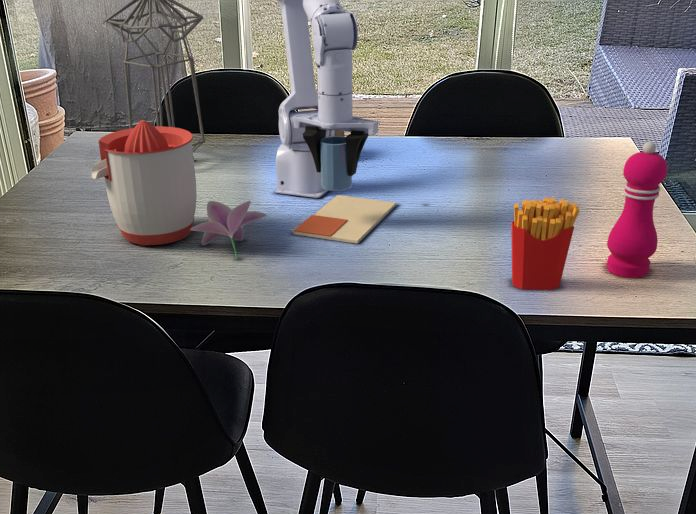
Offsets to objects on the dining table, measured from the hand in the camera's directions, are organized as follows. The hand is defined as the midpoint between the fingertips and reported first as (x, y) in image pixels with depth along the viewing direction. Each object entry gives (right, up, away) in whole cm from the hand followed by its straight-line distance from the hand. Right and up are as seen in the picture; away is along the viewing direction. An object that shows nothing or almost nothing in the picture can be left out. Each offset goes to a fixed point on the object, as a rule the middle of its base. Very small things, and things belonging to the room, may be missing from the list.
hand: (336, 172), depth 143 cm
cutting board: (+2, -7, +7) cm, 10 cm away
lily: (-18, -14, -4) cm, 23 cm away
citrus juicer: (-32, -11, +2) cm, 34 cm away
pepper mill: (+45, -19, -15) cm, 51 cm away
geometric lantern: (-36, +10, +38) cm, 53 cm away
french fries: (+30, -21, -18) cm, 41 cm away
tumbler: (0, -2, +1) cm, 2 cm away
